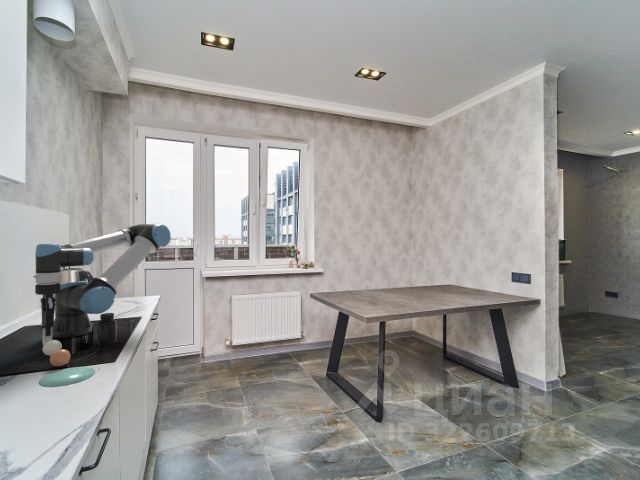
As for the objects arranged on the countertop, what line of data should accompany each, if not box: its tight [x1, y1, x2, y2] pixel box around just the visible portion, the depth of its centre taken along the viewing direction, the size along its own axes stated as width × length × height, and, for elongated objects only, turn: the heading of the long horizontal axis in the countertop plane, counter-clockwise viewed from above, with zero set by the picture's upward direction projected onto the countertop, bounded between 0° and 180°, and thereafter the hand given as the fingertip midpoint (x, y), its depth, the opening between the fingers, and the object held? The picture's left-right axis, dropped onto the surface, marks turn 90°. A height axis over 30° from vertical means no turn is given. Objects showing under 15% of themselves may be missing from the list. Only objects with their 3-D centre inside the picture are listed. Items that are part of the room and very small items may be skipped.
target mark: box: [38, 366, 96, 388], centre depth 103 cm, size 14×14×1 cm
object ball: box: [49, 348, 71, 367], centre depth 111 cm, size 6×6×6 cm
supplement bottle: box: [96, 312, 118, 346], centre depth 135 cm, size 7×7×12 cm
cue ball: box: [42, 339, 63, 357], centre depth 121 cm, size 6×6×6 cm
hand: (47, 343), depth 127 cm, fingers closed
